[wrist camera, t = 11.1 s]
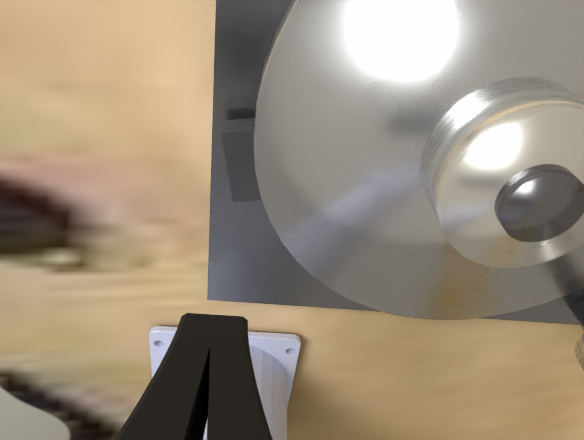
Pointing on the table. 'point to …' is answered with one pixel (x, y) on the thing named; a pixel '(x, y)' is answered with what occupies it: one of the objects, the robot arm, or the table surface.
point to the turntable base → (252, 214)
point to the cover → (509, 173)
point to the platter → (392, 143)
